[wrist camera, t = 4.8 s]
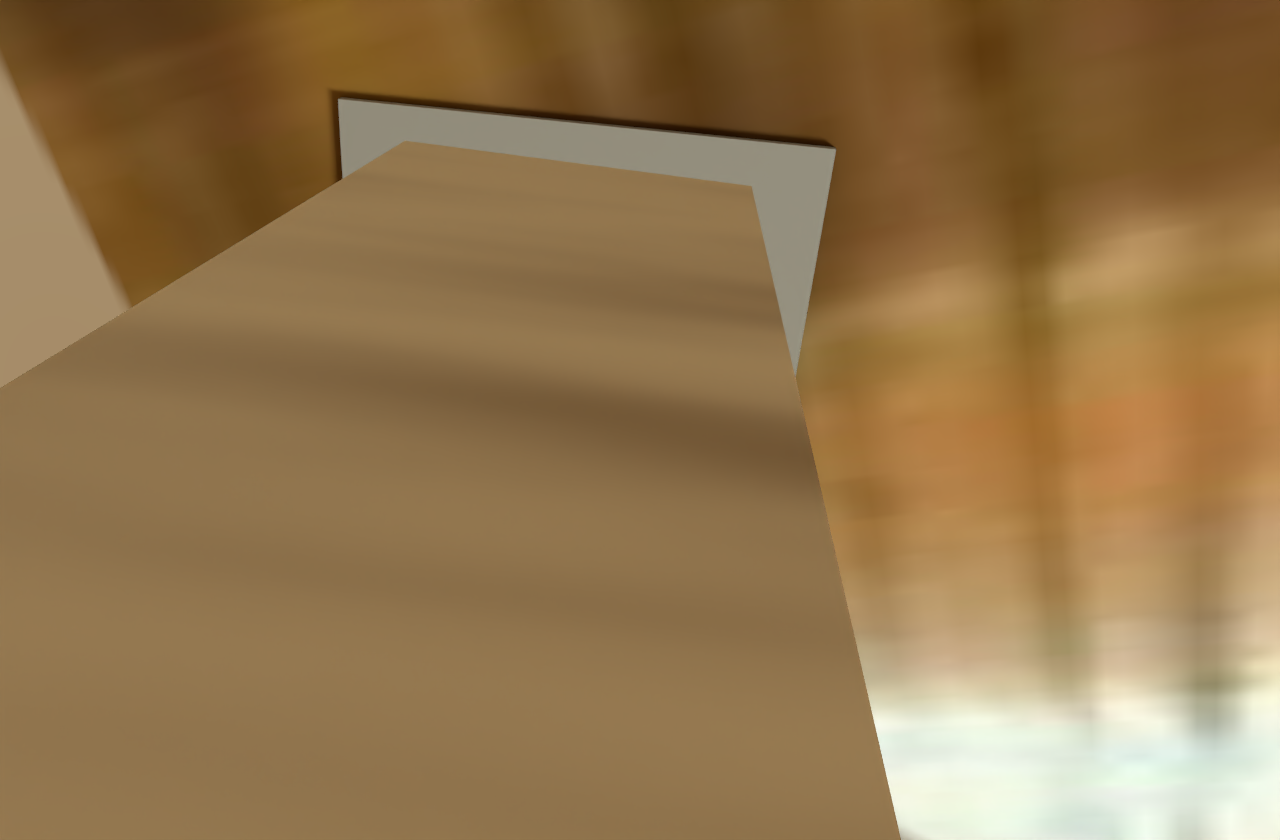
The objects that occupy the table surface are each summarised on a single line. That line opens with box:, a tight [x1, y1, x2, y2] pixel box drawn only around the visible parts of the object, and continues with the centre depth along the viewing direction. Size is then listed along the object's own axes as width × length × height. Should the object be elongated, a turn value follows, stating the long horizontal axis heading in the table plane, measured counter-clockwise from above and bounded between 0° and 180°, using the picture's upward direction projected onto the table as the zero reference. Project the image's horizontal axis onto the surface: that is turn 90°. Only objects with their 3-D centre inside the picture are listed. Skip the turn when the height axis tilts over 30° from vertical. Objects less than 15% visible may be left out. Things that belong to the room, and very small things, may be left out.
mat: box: [338, 97, 836, 377], centre depth 30 cm, size 14×14×1 cm
